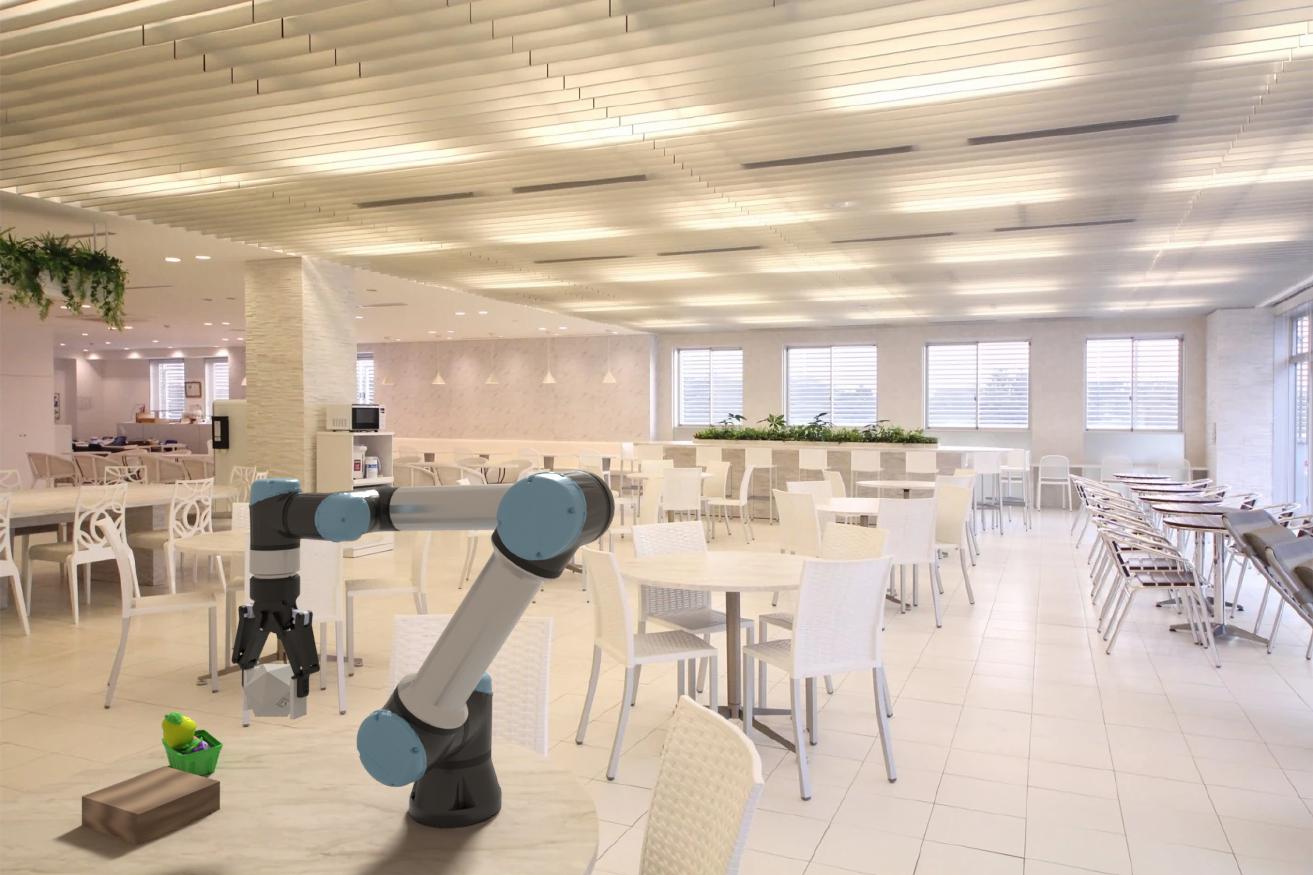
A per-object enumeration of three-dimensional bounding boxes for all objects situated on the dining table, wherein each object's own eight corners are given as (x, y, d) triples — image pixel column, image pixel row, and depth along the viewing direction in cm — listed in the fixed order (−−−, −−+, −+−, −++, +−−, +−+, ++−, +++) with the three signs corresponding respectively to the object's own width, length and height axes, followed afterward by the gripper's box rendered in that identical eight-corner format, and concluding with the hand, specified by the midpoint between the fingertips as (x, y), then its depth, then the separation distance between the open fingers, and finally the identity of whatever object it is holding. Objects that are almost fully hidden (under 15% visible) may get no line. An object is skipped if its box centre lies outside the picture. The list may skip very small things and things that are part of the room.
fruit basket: (224, 772, 162) (225, 710, 162) (171, 785, 156) (171, 721, 156) (203, 754, 170) (204, 696, 170) (152, 767, 164) (152, 706, 164)
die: (266, 730, 137) (306, 676, 140) (223, 700, 139) (263, 646, 141) (285, 732, 145) (323, 680, 148) (245, 703, 146) (283, 652, 149)
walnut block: (219, 811, 147) (220, 781, 147) (138, 847, 134) (138, 814, 134) (164, 794, 153) (164, 766, 153) (81, 827, 140) (81, 796, 140)
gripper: (344, 575, 142) (344, 715, 142) (245, 565, 151) (244, 696, 151) (308, 583, 135) (308, 729, 135) (206, 572, 144) (206, 709, 144)
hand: (274, 712), depth 143 cm, fingers closed on die, 9 cm apart
